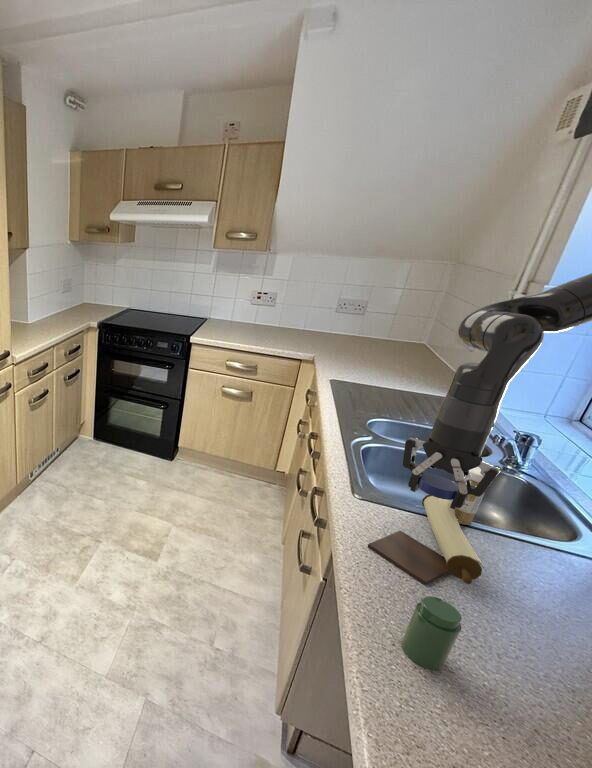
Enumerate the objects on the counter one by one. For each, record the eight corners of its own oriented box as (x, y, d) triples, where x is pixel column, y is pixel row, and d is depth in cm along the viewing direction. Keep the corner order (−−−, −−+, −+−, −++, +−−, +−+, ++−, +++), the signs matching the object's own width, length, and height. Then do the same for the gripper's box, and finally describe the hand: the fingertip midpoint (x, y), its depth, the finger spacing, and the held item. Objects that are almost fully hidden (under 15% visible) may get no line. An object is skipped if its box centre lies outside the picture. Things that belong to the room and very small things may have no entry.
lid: (412, 487, 80) (415, 479, 80) (424, 478, 84) (427, 470, 83) (449, 503, 76) (453, 495, 75) (461, 493, 79) (464, 485, 78)
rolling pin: (416, 500, 104) (422, 483, 102) (444, 508, 101) (451, 491, 99) (445, 584, 77) (454, 563, 75) (484, 598, 74) (495, 577, 73)
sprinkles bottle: (441, 514, 98) (461, 466, 94) (455, 512, 100) (475, 463, 95) (462, 527, 94) (483, 477, 90) (477, 524, 95) (499, 474, 91)
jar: (412, 632, 69) (430, 589, 66) (450, 661, 64) (472, 616, 61) (393, 645, 67) (411, 601, 63) (432, 676, 62) (453, 630, 59)
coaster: (399, 533, 92) (400, 530, 92) (457, 568, 83) (458, 565, 82) (367, 546, 88) (368, 543, 88) (424, 585, 78) (426, 582, 78)
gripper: (408, 411, 78) (383, 486, 84) (512, 442, 67) (474, 526, 73) (424, 402, 82) (399, 475, 88) (524, 431, 71) (488, 512, 77)
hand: (433, 498), depth 80 cm, fingers closed on lid, 5 cm apart
